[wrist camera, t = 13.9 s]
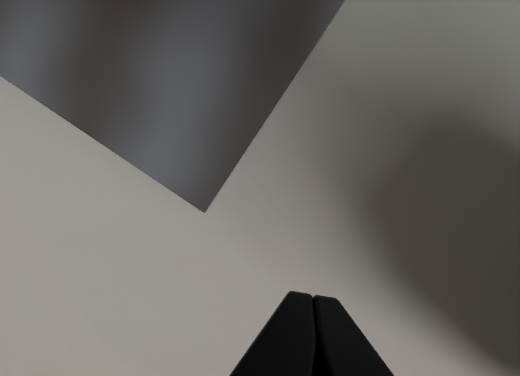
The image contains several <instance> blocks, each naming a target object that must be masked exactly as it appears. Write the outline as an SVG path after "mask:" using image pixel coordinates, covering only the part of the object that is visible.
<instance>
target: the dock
mask: <svg viewBox="0 0 520 376" xmlns="http://www.w3.org/2000/svg"><path fill="white" fill-rule="evenodd" d="M343 2H344V0H0V76H1V77H3V78H4V79H6V80H7V81H9V82H10V83H12V84H13V85H15V86H16V87H18V88H19V89H21V90H22V91H24V92H25V93H27V94H28V95H30V96H31V97H33V98H34V99H36V100H37V101H39V102H40V103H42V104H43V105H45V106H46V107H47V108H49V109H50V110H52V111H53V112H55V113H56V114H58V115H59V116H61V117H62V118H64V119H65V120H67V121H68V122H70V123H71V124H73V125H74V126H76V127H77V128H79V129H80V130H82V131H83V132H85V133H86V134H88V135H89V136H91V137H92V138H94V139H95V140H97V141H98V142H100V143H101V144H103V145H104V146H106V147H107V148H109V149H110V150H111V151H113V152H114V153H116V154H117V155H119V156H120V157H122V158H123V159H125V160H126V161H128V162H129V163H131V164H132V165H134V166H135V167H137V168H138V169H140V170H141V171H143V172H144V173H146V174H147V175H149V176H150V177H152V178H153V179H155V180H156V181H158V182H159V183H161V184H162V185H164V186H165V187H167V188H168V189H170V190H171V191H172V192H174V193H175V194H177V195H178V196H180V197H181V198H183V199H184V200H186V201H187V202H189V203H190V204H192V205H193V206H195V207H196V208H198V209H199V210H201V211H202V212H204V213H205V212H206V210H207V209H208V207H209V205H210V204H211V202H212V201H213V199H214V198H215V196H216V195H217V193H218V192H219V190H220V189H221V187H222V186H223V184H224V183H225V181H226V180H227V178H228V177H229V175H230V174H231V172H232V171H233V169H234V168H235V166H236V164H237V163H238V161H239V160H240V158H241V157H242V155H243V154H244V152H245V151H246V149H247V148H248V146H249V145H250V143H251V142H252V140H253V139H254V137H255V136H256V134H257V133H258V131H259V130H260V128H261V127H262V125H263V123H264V122H265V120H266V119H267V117H268V116H269V114H270V113H271V111H272V110H273V108H274V107H275V105H276V104H277V102H278V101H279V99H280V98H281V96H282V95H283V93H284V92H285V90H286V89H287V87H288V85H289V84H290V82H291V81H292V79H293V78H294V76H295V75H296V73H297V72H298V70H299V69H300V67H301V66H302V64H303V63H304V61H305V60H306V58H307V57H308V55H309V54H310V52H311V51H312V49H313V48H314V46H315V44H316V43H317V41H318V40H319V38H320V37H321V35H322V34H323V32H324V31H325V29H326V28H327V26H328V25H329V23H330V22H331V20H332V19H333V17H334V16H335V14H336V13H337V11H338V10H339V8H340V6H341V5H342V3H343Z"/></svg>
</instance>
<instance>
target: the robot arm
mask: <svg viewBox="0 0 520 376" xmlns="http://www.w3.org/2000/svg"><path fill="white" fill-rule="evenodd" d="M229 376H394V375H393V373H392V372H391V371H390V369H389V368H388V367H387V365H386V364H385V363H384V361H383V360H382V359H381V357H380V356H379V355H378V353H377V352H376V351H375V349H374V348H373V346H372V345H371V344H370V342H369V341H368V340H367V338H366V337H365V336H364V334H363V333H362V332H361V330H360V329H359V328H358V326H357V325H356V323H355V322H354V321H353V319H352V318H351V317H350V315H349V314H348V313H347V311H346V310H345V309H344V307H343V306H342V305H341V303H340V302H339V301H338V300H337V299H336V298H332V297H326V296H320V295H315V296H314V297H312V296H311V295H310V294H308V293H301V292H295V291H290V292H289V293H288V294H287V295H286V296H285V298H284V299H283V301H282V302H281V303H280V305H279V306H278V308H277V309H276V310H275V312H274V313H273V315H272V316H271V317H270V319H269V320H268V322H267V323H266V325H265V326H264V327H263V329H262V330H261V332H260V333H259V334H258V336H257V337H256V339H255V340H254V342H253V343H252V344H251V346H250V347H249V349H248V350H247V351H246V353H245V354H244V356H243V357H242V358H241V360H240V361H239V363H238V364H237V366H236V367H235V368H234V370H233V371H232V373H231V374H230V375H229Z"/></svg>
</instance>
